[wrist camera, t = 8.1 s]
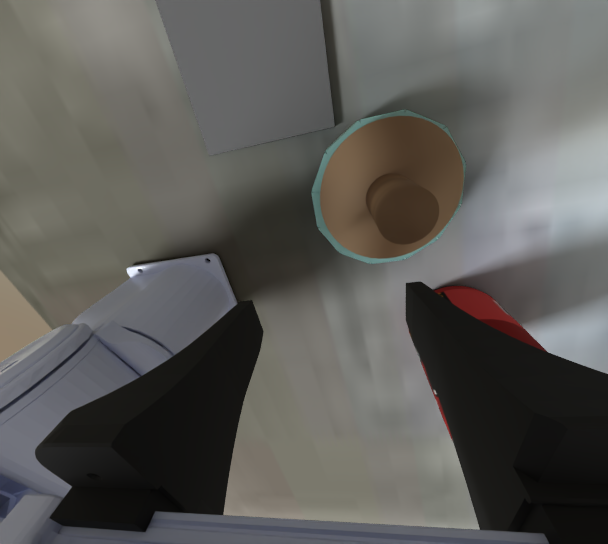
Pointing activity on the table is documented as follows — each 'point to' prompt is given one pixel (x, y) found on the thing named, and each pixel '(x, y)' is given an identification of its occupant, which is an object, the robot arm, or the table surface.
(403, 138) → the lid
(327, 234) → the bowl
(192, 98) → the mat
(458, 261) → the table surface
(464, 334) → the robot arm
